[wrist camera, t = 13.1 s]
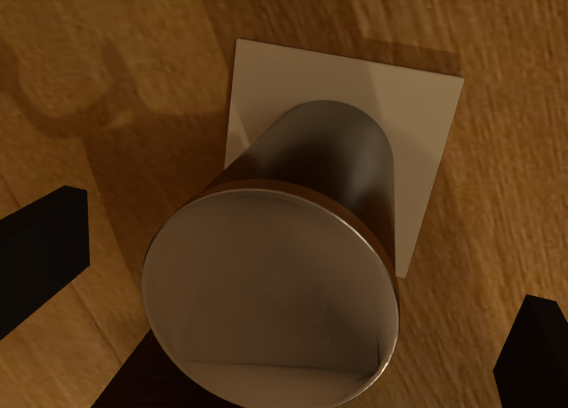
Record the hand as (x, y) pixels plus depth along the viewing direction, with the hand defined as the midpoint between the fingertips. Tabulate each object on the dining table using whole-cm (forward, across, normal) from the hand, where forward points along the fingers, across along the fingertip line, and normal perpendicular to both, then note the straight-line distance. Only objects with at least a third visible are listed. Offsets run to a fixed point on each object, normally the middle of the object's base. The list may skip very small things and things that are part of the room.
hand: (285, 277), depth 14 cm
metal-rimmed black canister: (+11, 0, 0) cm, 11 cm away
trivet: (+12, 0, 0) cm, 12 cm away
